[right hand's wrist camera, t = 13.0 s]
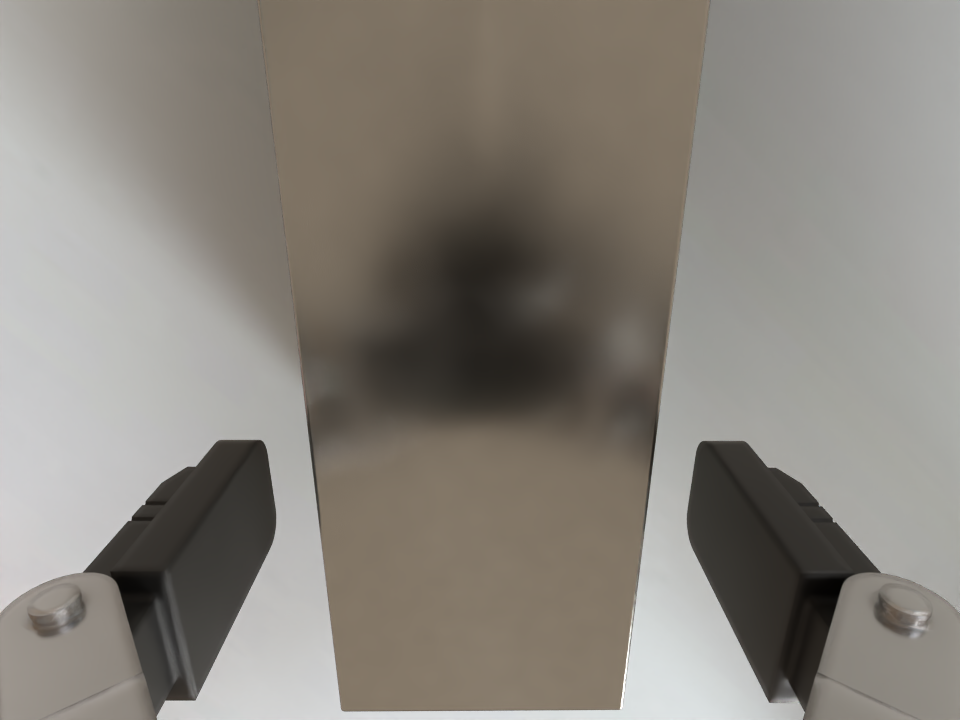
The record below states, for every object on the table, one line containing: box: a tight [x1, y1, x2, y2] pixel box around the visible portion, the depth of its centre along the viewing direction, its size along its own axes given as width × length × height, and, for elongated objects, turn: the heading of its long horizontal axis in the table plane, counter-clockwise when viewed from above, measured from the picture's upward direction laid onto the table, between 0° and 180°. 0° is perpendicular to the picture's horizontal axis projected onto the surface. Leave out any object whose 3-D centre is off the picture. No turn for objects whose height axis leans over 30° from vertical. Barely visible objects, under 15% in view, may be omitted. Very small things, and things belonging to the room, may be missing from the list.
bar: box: [257, 0, 710, 711], centre depth 11 cm, size 25×6×8 cm, turn 0°
